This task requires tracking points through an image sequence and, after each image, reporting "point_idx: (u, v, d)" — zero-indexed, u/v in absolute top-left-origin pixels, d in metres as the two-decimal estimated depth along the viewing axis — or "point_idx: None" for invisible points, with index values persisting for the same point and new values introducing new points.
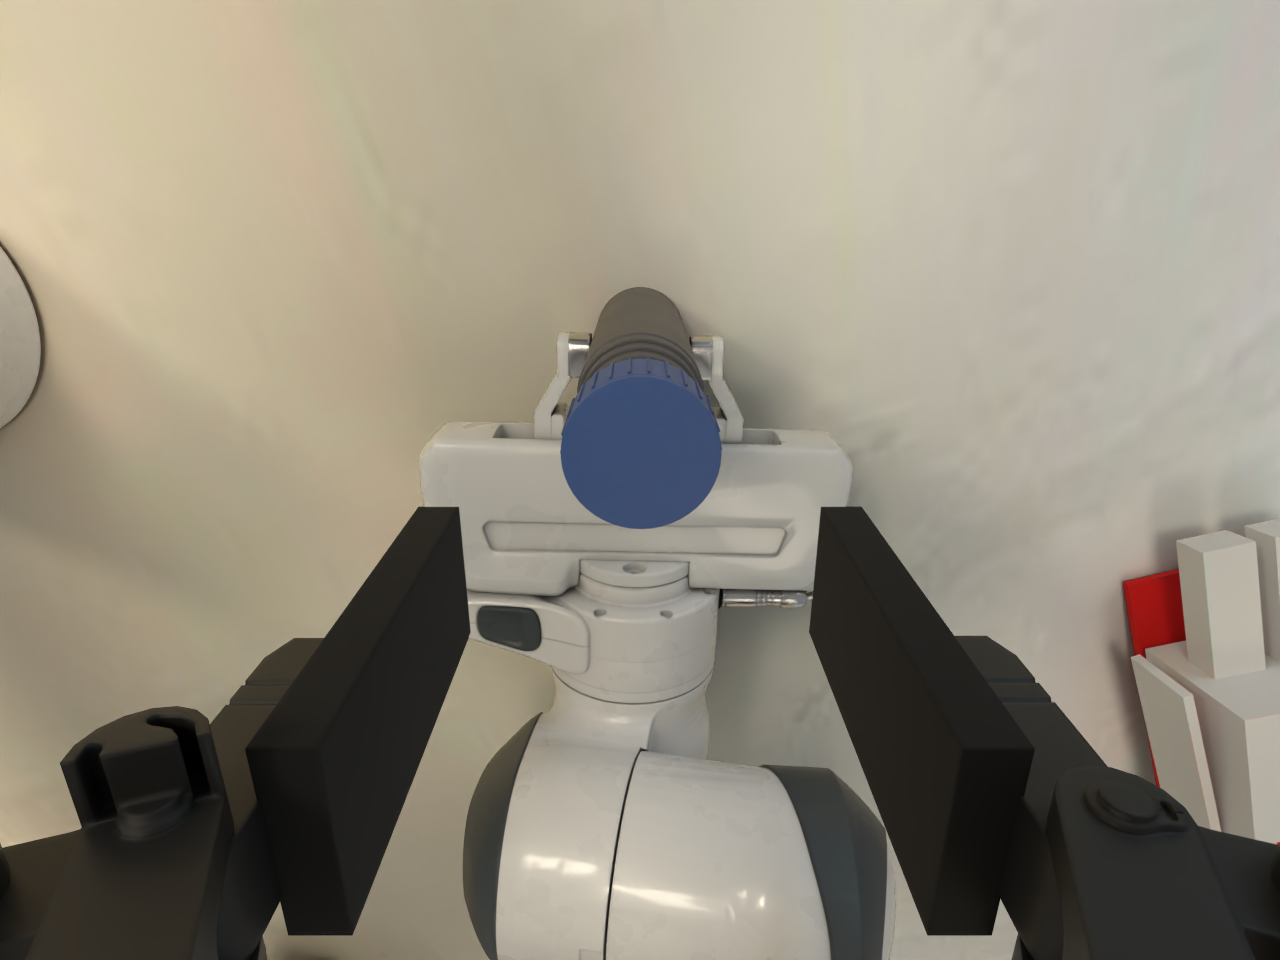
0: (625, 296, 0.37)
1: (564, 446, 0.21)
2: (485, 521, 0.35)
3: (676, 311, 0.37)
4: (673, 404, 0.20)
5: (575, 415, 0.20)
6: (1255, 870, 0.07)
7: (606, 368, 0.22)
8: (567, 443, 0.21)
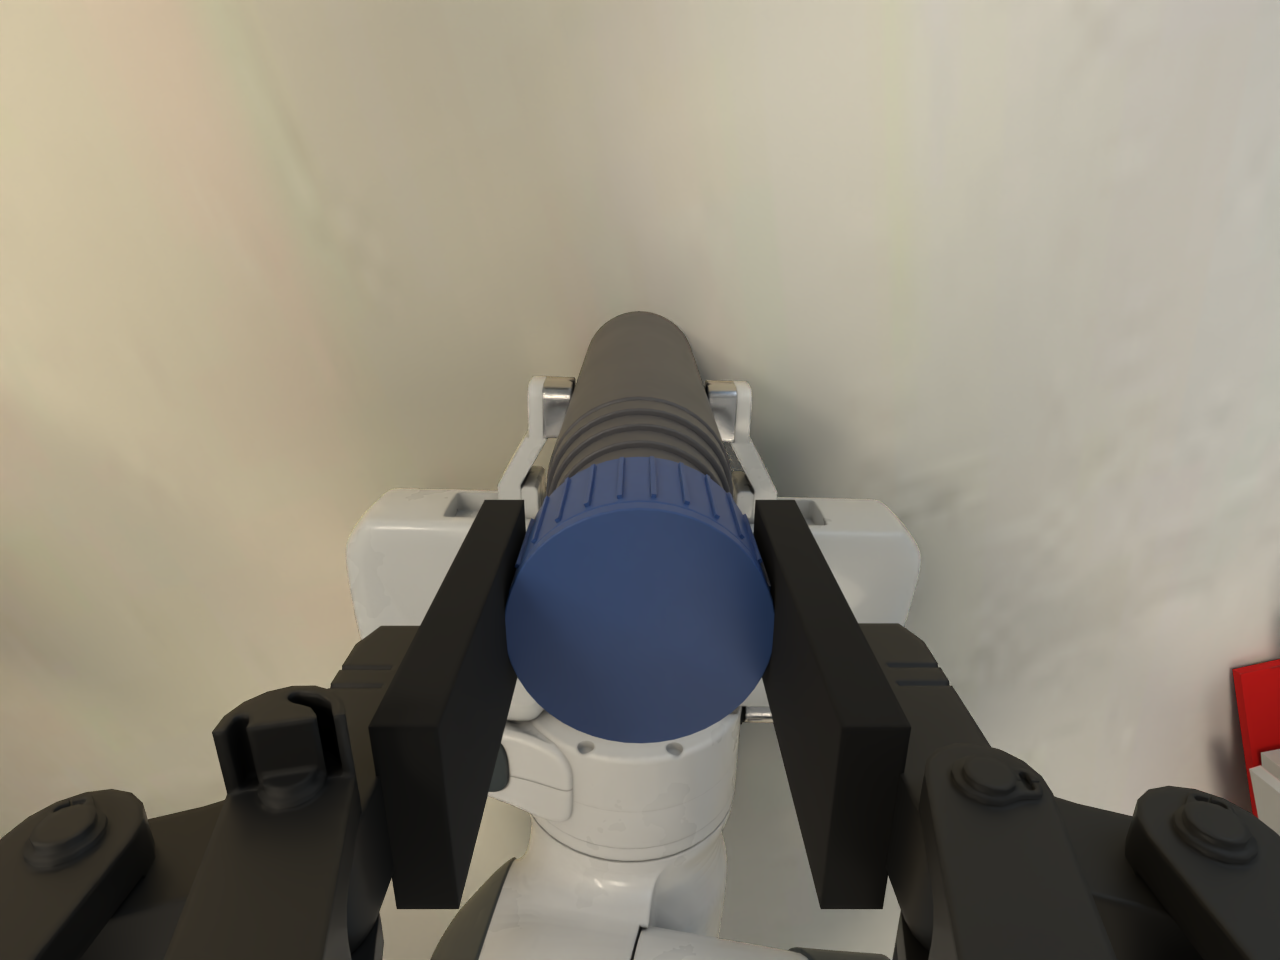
0: (620, 325, 0.28)
1: (509, 619, 0.12)
2: None
3: (686, 344, 0.29)
4: (695, 552, 0.12)
5: (527, 570, 0.12)
6: (1111, 841, 0.07)
7: (583, 474, 0.14)
8: (514, 614, 0.12)
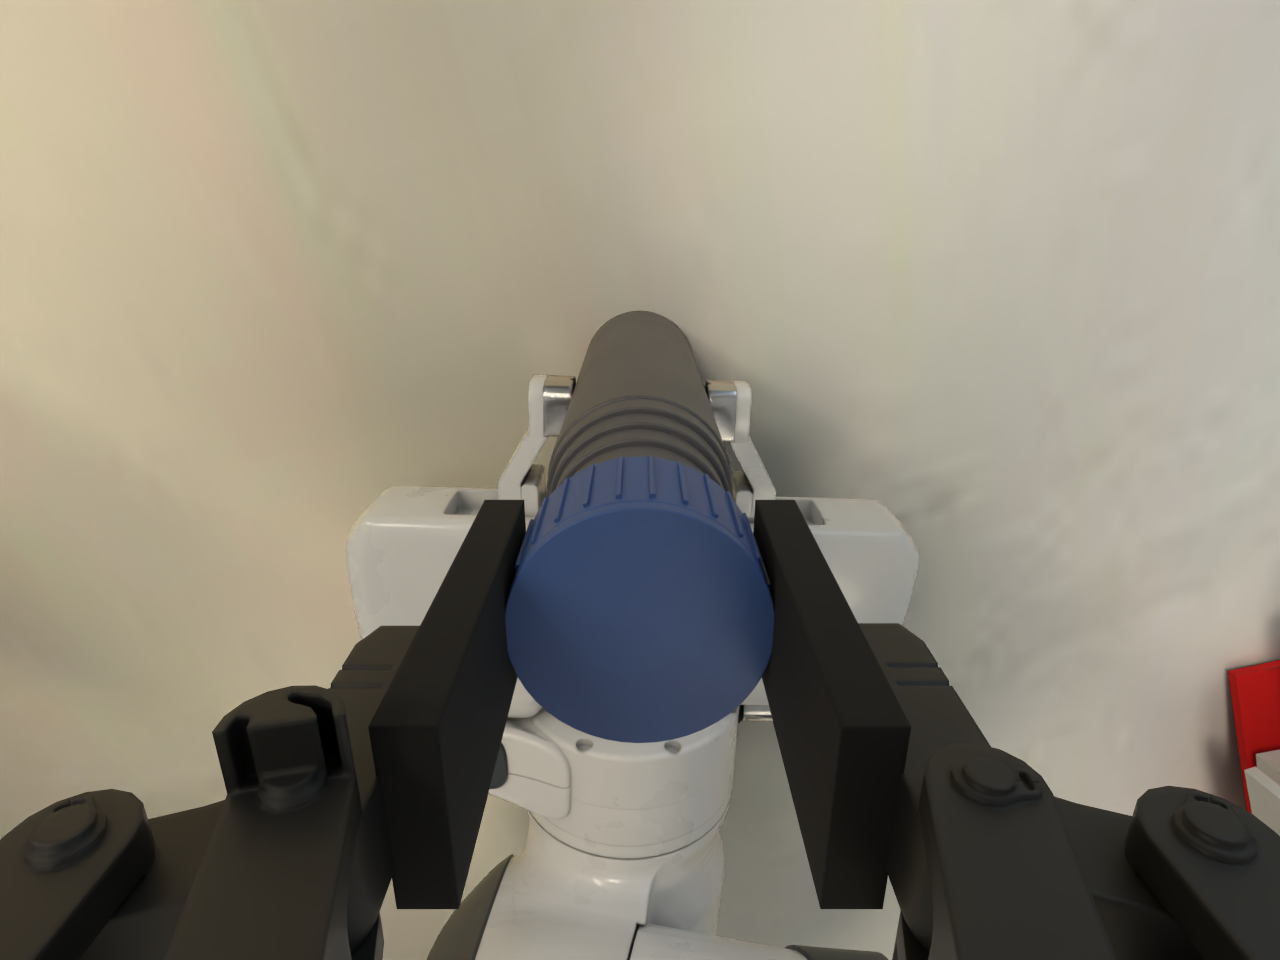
0: (620, 325, 0.28)
1: (668, 736, 0.13)
2: None
3: (686, 344, 0.29)
4: (535, 618, 0.12)
5: (614, 736, 0.13)
6: (1110, 841, 0.07)
7: None
8: (663, 732, 0.13)
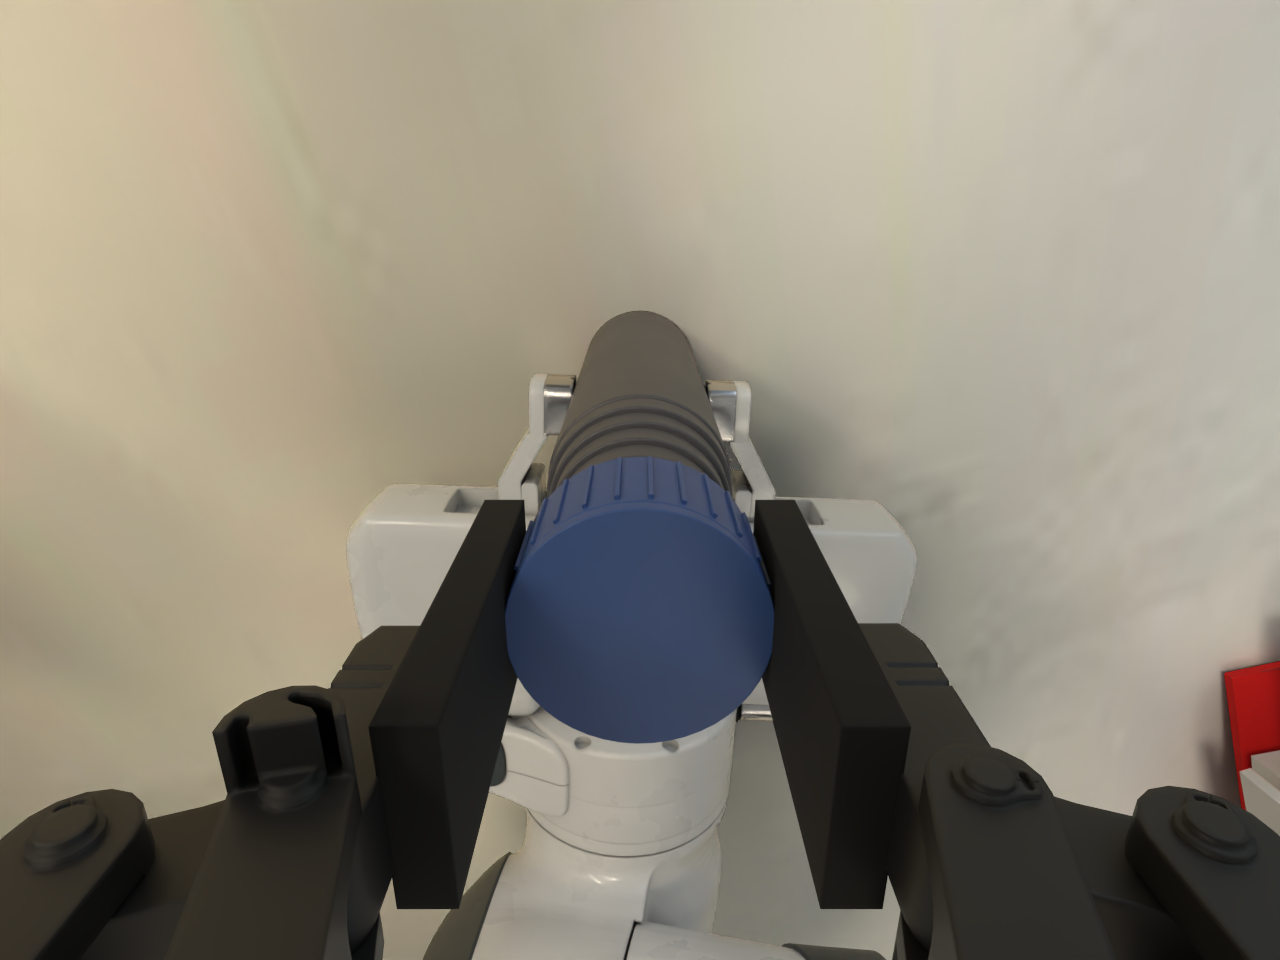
0: (621, 324, 0.28)
1: (750, 567, 0.12)
2: None
3: (686, 344, 0.29)
4: (660, 718, 0.13)
5: (769, 614, 0.12)
6: (1110, 841, 0.07)
7: None
8: (748, 572, 0.12)
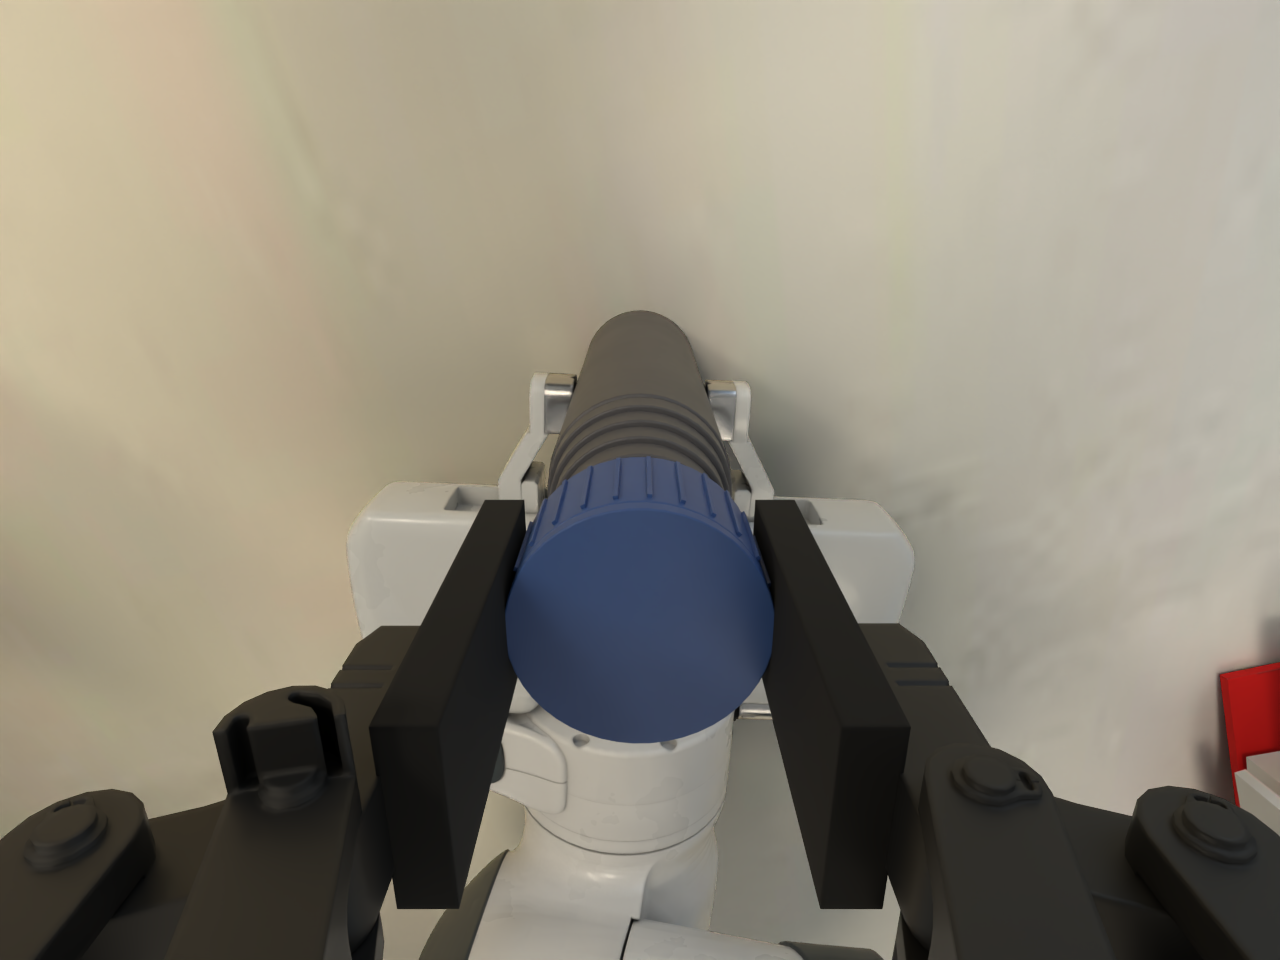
0: (621, 324, 0.29)
1: (527, 570, 0.12)
2: None
3: (686, 344, 0.29)
4: (729, 583, 0.12)
5: (569, 532, 0.12)
6: (1110, 840, 0.07)
7: (637, 462, 0.13)
8: (534, 567, 0.12)
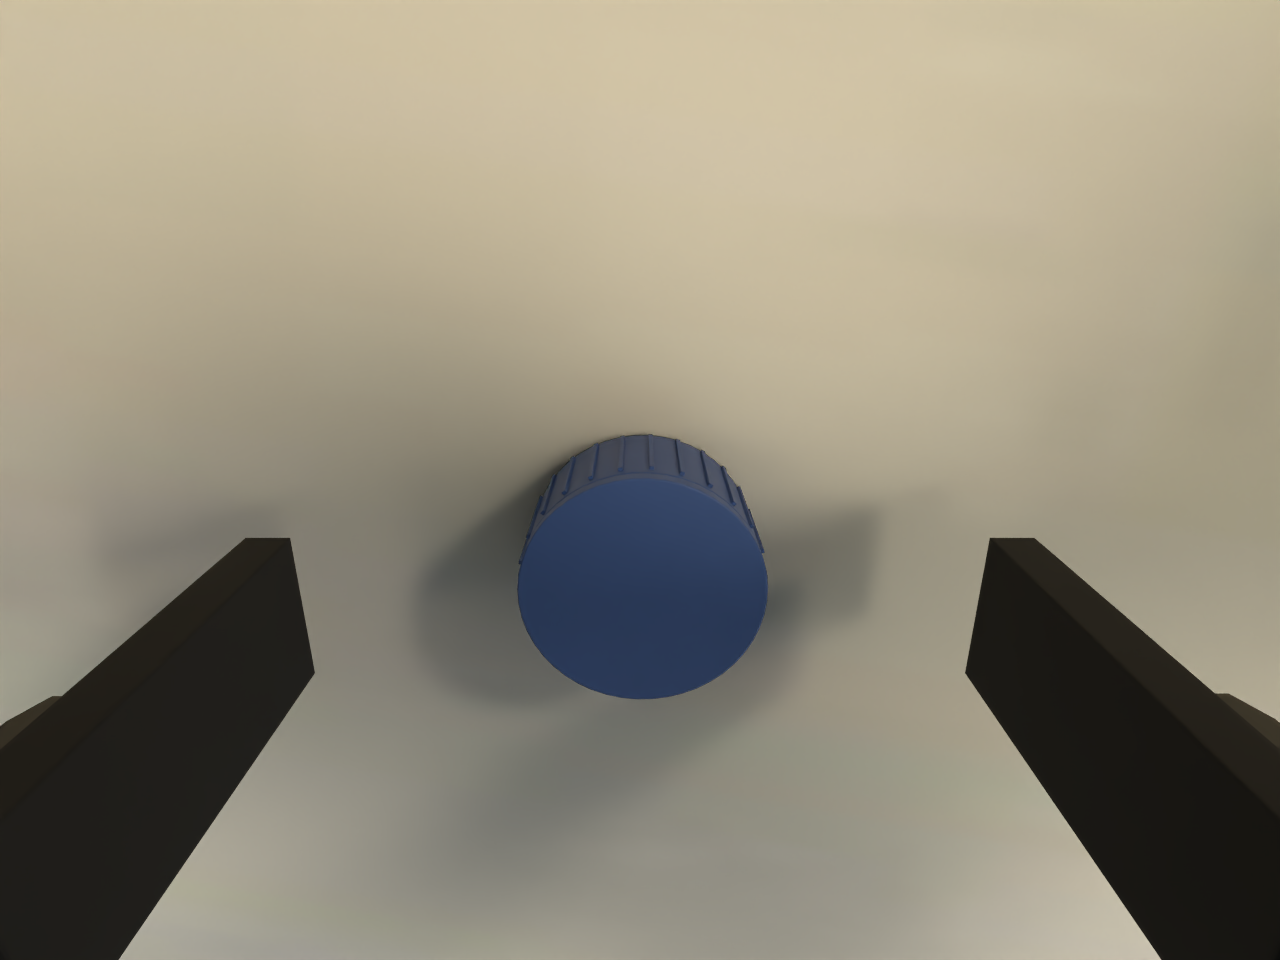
0: None
1: (539, 535, 0.13)
2: None
3: None
4: (725, 548, 0.13)
5: (578, 500, 0.13)
6: None
7: (640, 439, 0.15)
8: (546, 533, 0.13)
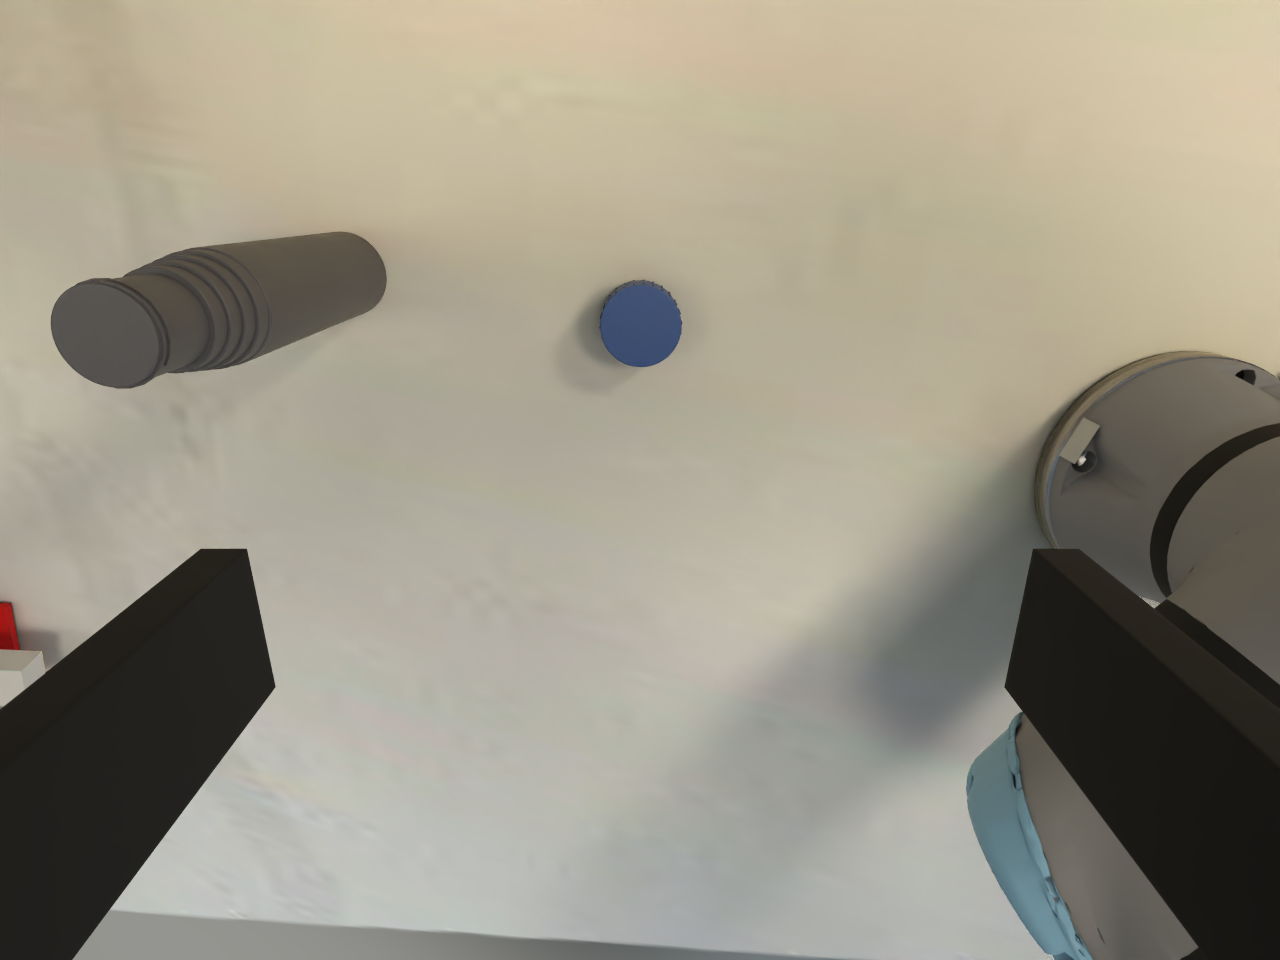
0: (368, 282, 0.40)
1: (608, 305, 0.41)
2: None
3: None
4: (667, 309, 0.41)
5: (620, 293, 0.40)
6: None
7: (640, 281, 0.42)
8: (610, 304, 0.41)
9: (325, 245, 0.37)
